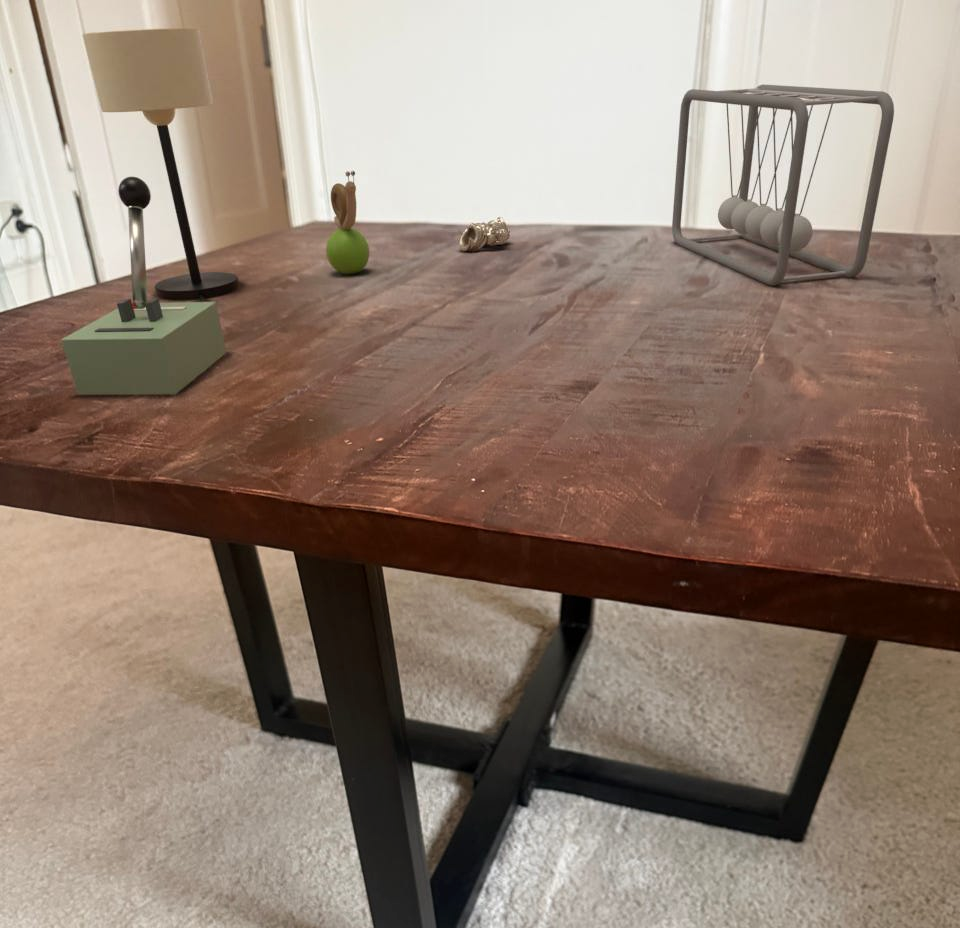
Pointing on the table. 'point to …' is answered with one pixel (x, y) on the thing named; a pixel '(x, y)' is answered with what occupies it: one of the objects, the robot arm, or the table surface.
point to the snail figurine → (346, 232)
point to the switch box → (145, 348)
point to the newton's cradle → (762, 221)
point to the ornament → (484, 235)
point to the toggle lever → (136, 234)
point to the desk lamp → (159, 117)
